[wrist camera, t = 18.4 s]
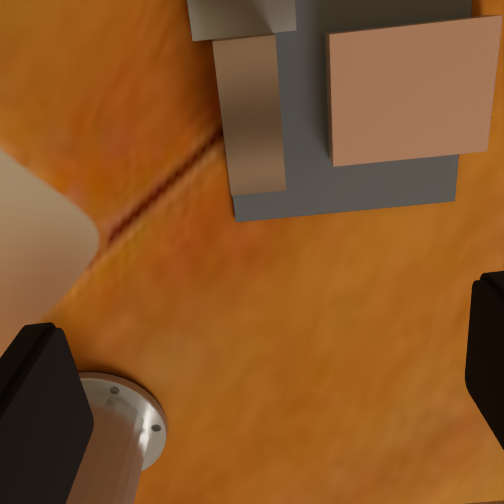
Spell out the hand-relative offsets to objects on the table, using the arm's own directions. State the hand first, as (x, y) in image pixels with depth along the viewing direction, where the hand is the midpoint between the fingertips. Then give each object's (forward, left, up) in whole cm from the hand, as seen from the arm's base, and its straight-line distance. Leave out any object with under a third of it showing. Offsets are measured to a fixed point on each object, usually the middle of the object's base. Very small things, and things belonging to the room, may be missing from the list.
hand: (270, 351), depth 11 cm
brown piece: (0, +4, -24) cm, 24 cm away
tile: (+10, -3, -23) cm, 25 cm away
